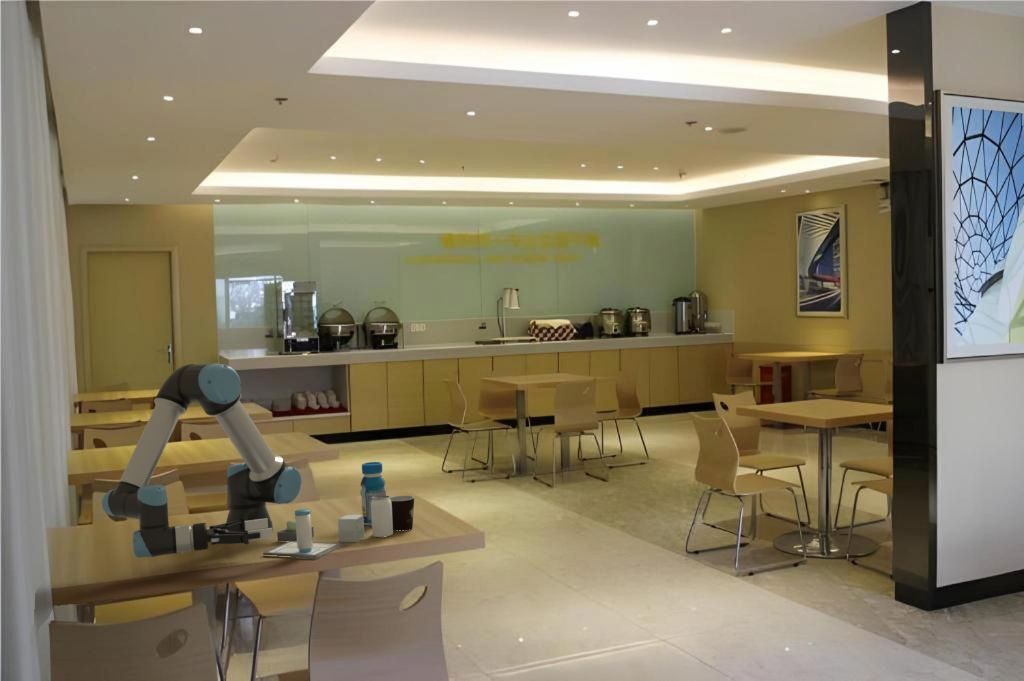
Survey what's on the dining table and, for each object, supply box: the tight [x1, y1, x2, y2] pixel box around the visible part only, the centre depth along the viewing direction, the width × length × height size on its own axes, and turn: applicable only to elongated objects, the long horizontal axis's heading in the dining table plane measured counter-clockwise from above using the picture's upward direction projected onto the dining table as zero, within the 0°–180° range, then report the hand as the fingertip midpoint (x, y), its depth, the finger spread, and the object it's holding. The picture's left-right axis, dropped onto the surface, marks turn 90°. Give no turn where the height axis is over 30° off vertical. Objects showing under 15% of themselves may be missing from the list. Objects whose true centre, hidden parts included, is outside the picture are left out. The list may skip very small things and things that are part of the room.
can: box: [371, 495, 394, 538], centre depth 289 cm, size 6×6×12 cm
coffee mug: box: [389, 495, 415, 532], centre depth 298 cm, size 12×9×10 cm
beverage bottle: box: [360, 461, 387, 526], centre depth 307 cm, size 8×8×20 cm
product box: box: [337, 514, 365, 543], centre depth 285 cm, size 6×6×7 cm
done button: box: [286, 519, 296, 532], centre depth 290 cm, size 5×5×3 cm
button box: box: [276, 526, 315, 542], centre depth 290 cm, size 8×8×3 cm
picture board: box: [262, 541, 342, 560], centre depth 274 cm, size 18×14×1 cm
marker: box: [294, 508, 313, 553], centre depth 270 cm, size 4×4×12 cm
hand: (270, 527), depth 267 cm, fingers open, 13 cm apart
